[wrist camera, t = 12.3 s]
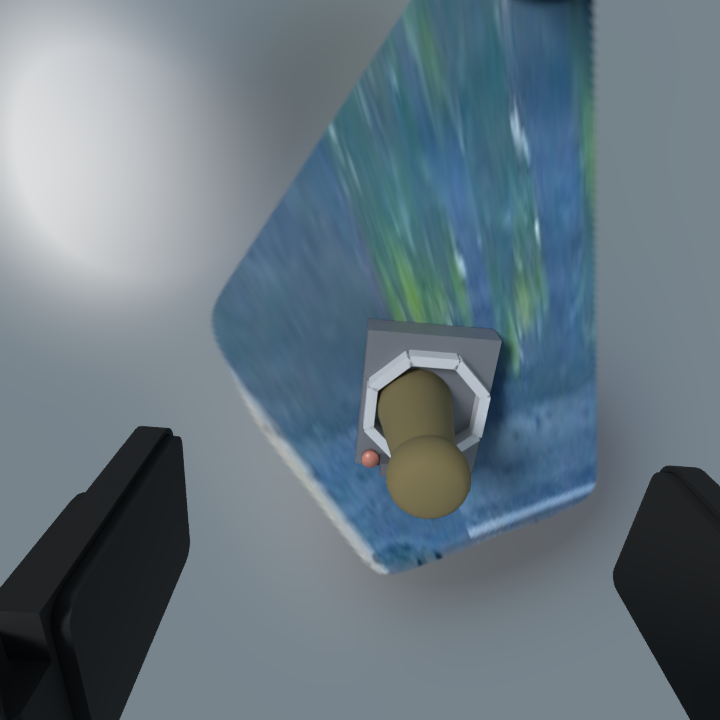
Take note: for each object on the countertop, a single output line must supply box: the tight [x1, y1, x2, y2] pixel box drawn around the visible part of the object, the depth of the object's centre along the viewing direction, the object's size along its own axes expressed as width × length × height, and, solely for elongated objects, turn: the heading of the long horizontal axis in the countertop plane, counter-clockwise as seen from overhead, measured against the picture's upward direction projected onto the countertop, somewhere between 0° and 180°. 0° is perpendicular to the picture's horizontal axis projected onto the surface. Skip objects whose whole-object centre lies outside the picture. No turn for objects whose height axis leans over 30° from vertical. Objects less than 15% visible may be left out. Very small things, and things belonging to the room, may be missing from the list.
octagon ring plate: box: [355, 319, 502, 476], centre depth 39 cm, size 12×10×4 cm
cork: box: [376, 369, 471, 519], centre depth 33 cm, size 6×6×11 cm
